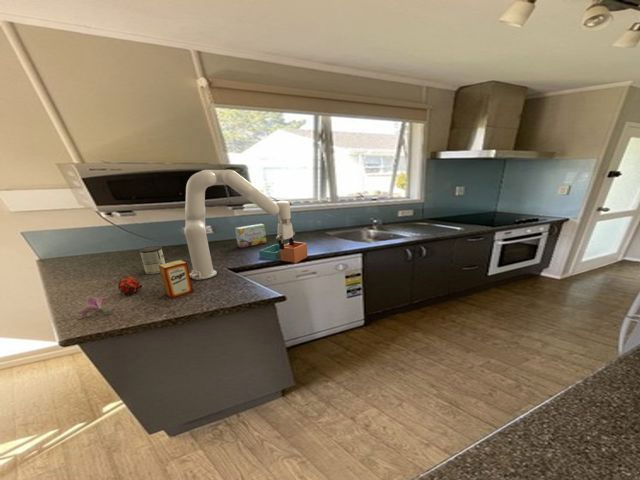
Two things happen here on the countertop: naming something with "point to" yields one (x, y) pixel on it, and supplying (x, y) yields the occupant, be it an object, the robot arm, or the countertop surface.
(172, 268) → the baking soda box
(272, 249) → the lower bin
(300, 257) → the upper bin
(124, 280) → the dragon fruit
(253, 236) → the snack box
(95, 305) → the lily
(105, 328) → the countertop surface
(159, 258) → the coffee can
